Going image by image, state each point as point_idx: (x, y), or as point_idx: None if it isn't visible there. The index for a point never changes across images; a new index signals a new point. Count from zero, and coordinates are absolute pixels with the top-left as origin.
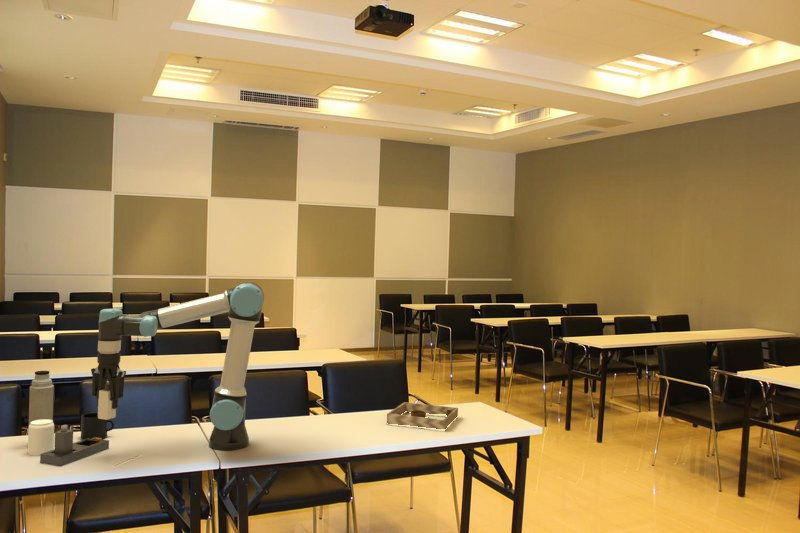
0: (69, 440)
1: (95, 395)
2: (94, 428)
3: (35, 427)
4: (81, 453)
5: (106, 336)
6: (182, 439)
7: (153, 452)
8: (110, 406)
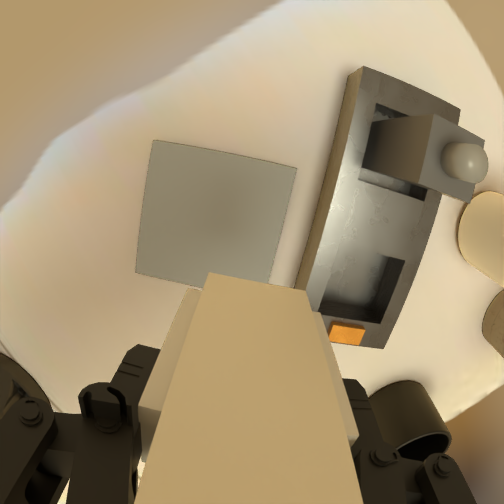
0: (401, 153)
1: (415, 467)
2: (395, 414)
3: None
4: (333, 178)
5: None
6: None
7: (123, 324)
8: (162, 351)
